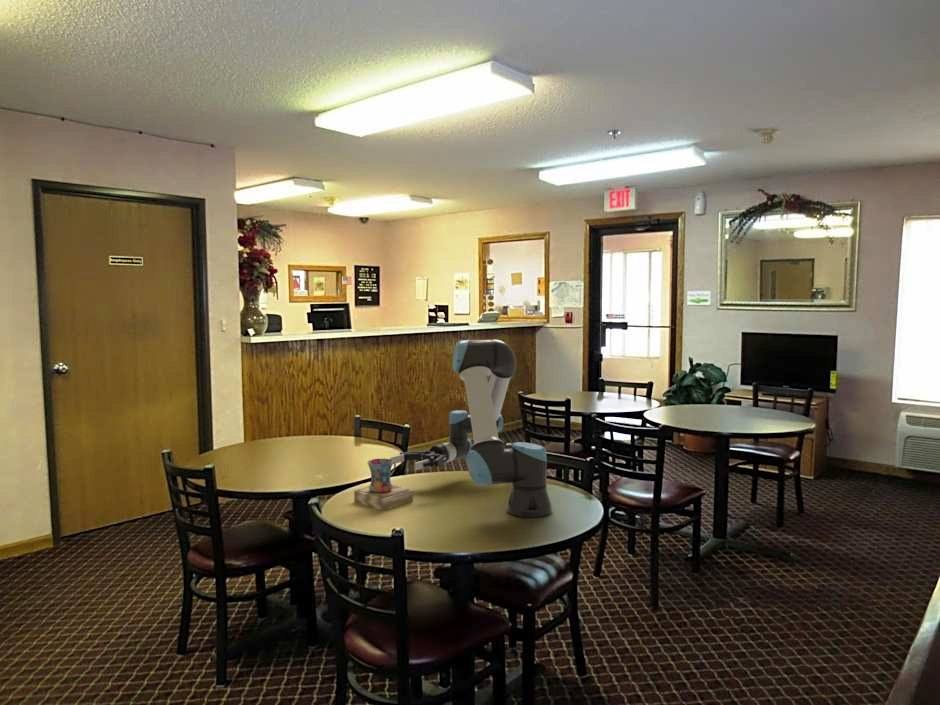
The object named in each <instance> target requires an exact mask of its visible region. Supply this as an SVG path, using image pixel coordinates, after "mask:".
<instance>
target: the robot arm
mask: <svg viewBox="0 0 940 705" xmlns="http://www.w3.org/2000/svg"><path fill="white" fill-rule="evenodd" d="M516 369H517V357H516V354H515V352H514V351H513V349H512V348H511V347H510V345H509V344H507V343H506V342H504V341H502V340H500V339H494V338H492V339H471V340H470V339H466V340H459V341H457V342H455V345H454V349H453V356H452V370H453V372H454V373H457V374H459V379H460V380H462V381H463V382H464V385H465V387H464V388H465V393H466V398H467V405H468V411H469V412H467V410H464V409H463V410H462V409H461V410H459V409H457V410H452V411H450V412H449V418H448V419H449V420H448V424H449V425H448V428H449V429H448V431H449V436H448V437H449V439H448V440H449V441H447V442H443V443H439V444H435V445H432V446H431V448H430V449H429V450H425V451H424V450H423V449H420V450H415V451H414V450H413V451H402V452H399V454H398V455H394V456H390V457H389V459H391V460H393V462H395V464H398V463H404V462H405V461H415V463H414V465H415V466H414V469H415V471H420V470H422V469H425V468H426V469H427V468H429V467H431V468H433V467H435V468H438V467H439V466H441V465H442V464H445V463H446V464H448V463H449V462H451V461H456V460H459V459H464V458H466V461H467V464H466V465H467V469H468V473H469V477H470V478H471V480H472V481H473V483H474V484H475V485H478V486H491V485H503V484H511V483H512V488H511V492H510V496H509V498H508V501H507V512H508V513H509V514H511V515H513V516H514V517H515V516H516V517H521V518H533V519H534V518H542V517H546V516H548V515H551V513H552V512H553V511H552V510H553V509H552V503H551V499H550V496H549V493H548V490H547V471H548V470H547V464H548V463H547V462H548V460H547V458H548V457H547V450H546V448H545V447H544V446H542V445H539V444H537V443H531V442H521V441H520V442H519V441H518V442H517V441H516V442H513V443H512V445H511V448H509V447H507V448H506V447H505V443H504V440H502V439H501V438H499V432H501V431H502V430H503V428H504V418H503V415H502V414H501V411H502V409H503V405H504V401H505V398H506V394H507V391H508V389H509V388H508V387H509V385H510V382H511V378H513V377H514V376H515V372H516ZM469 434H471V435H472V437H473V441H472V440H471V439H469V436H468V435H469ZM416 461H417V462H416ZM392 465H394V463H393V464H392Z"/></svg>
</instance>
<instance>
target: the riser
mask: <svg viewBox="0 0 940 705" xmlns="http://www.w3.org/2000/svg"><path fill="white" fill-rule="evenodd" d="M392 486H393V488H392V489H391V490H390V491H387V492H373V491H371V490H369V487H370V485H369V486H366V487H363V488H359V489H355V490H353V491H354V492H353V493H354V494H353V495H354V496H353V498H354V499H353V500H354V502H355V503H358V504H360V505H361V504H362V505H364V506H369V507H370V508H374V509H378V510H381V511H387V510H389V509H392V508H393V509H394V508H395V507H399V506H401V505H404V504H408V503H411V502H414V490H413V489H410V488H406V487H402V486H398V485H395V484H392Z"/></svg>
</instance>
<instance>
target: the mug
mask: <svg viewBox="0 0 940 705" xmlns="http://www.w3.org/2000/svg"><path fill="white" fill-rule="evenodd" d="M393 463H394V464H393ZM396 464H397V463H395V462H393V460H391V459H390V458H382V457H381V458H373V459H369V460H368V461H367V466H368V467H369V470H370V475H371V476H370V478H371V480H370V485H369V486H370V487H369V486H368V487H369V490H371V491H373V492H387V491H390V490H391V489H392V488H393V486H392V485H393V484H392V480H391V477H392V475H393V474H394V472H395V471H396V467H397V465H396ZM392 466H393V469H392Z"/></svg>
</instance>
